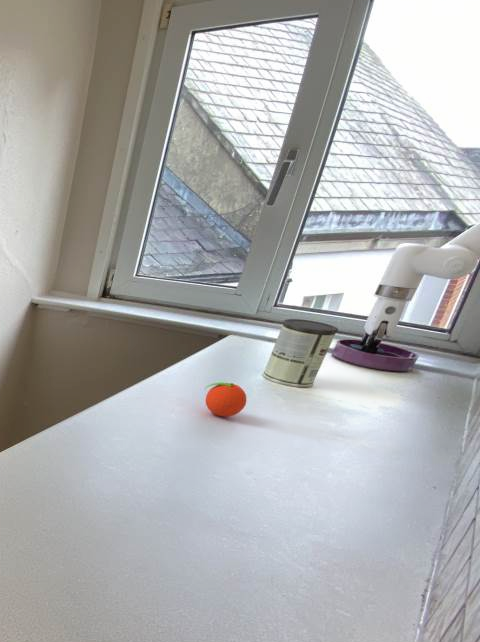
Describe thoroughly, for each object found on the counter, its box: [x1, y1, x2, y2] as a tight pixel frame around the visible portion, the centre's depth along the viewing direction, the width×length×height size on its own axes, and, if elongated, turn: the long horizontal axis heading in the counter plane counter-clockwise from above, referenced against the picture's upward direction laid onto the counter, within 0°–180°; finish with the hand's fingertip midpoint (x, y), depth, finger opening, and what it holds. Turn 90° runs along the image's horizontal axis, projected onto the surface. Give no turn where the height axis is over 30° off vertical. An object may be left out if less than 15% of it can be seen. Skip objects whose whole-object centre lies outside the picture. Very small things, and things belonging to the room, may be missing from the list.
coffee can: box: [262, 318, 339, 388], centre depth 133 cm, size 10×10×14 cm
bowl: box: [330, 338, 420, 372], centre depth 152 cm, size 17×17×4 cm
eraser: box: [349, 344, 385, 356], centre depth 153 cm, size 7×4×3 cm, turn 55°
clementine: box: [205, 382, 248, 418], centre depth 113 cm, size 8×7×7 cm
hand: (362, 357), depth 153 cm, fingers closed on eraser, 4 cm apart
